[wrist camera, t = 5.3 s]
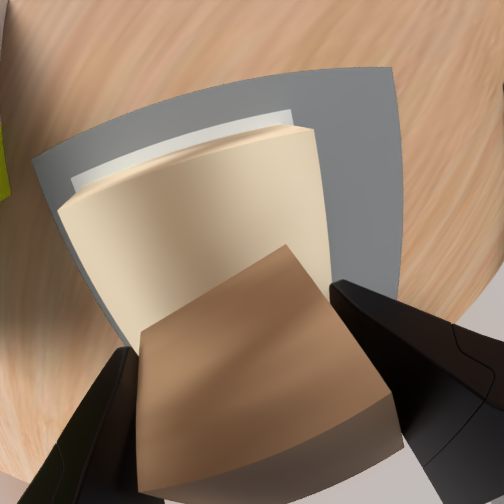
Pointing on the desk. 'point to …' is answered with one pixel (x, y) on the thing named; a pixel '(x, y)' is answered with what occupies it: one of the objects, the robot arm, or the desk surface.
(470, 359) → the robot arm
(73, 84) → the desk surface
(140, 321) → the maple slab
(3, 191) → the puzzle toy
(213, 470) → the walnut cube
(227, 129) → the build mat
